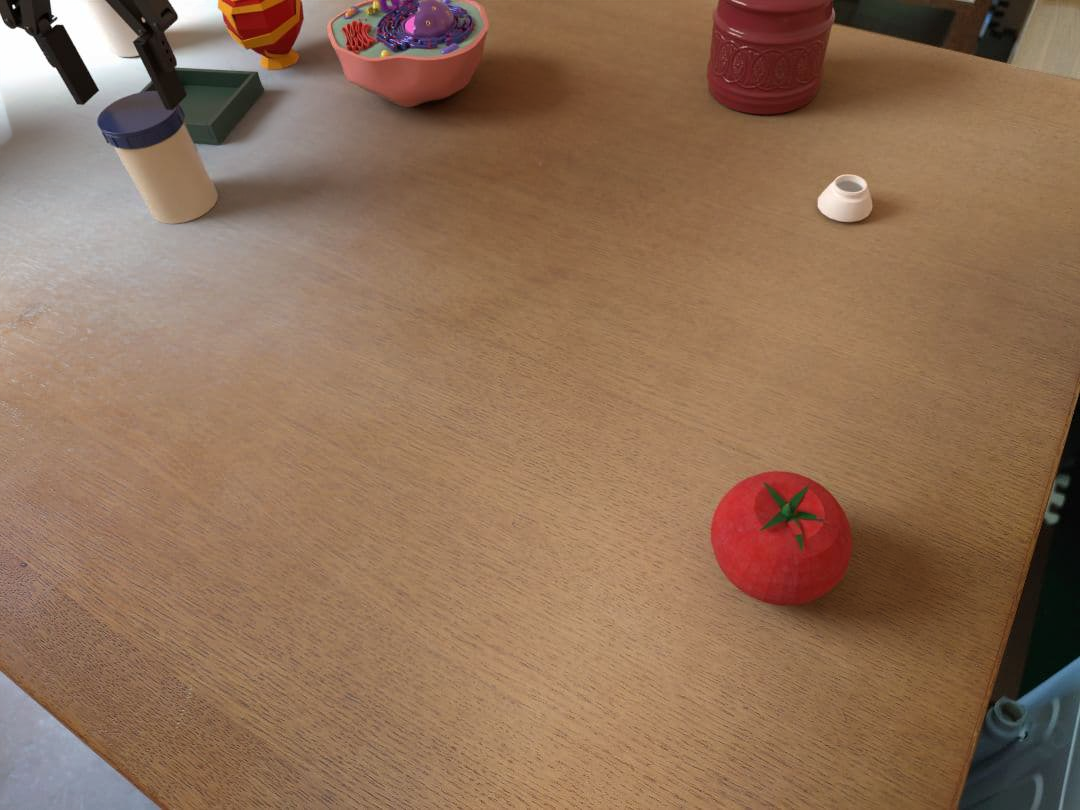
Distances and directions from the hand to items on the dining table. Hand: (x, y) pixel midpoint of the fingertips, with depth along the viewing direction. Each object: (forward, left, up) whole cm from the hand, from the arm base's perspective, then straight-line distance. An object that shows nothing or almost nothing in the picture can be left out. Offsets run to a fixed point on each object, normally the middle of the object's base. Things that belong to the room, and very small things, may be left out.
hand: (131, 99), depth 76 cm
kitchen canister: (+60, +30, -12) cm, 68 cm away
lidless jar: (+69, +8, -12) cm, 70 cm away
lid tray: (-8, +17, -12) cm, 22 cm away
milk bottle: (-26, +33, -12) cm, 44 cm away
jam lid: (0, 0, -2) cm, 2 cm away
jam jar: (0, 0, -12) cm, 12 cm away
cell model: (+19, +25, -12) cm, 34 cm away
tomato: (+64, -32, -12) cm, 72 cm away
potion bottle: (-3, +31, -12) cm, 33 cm away
